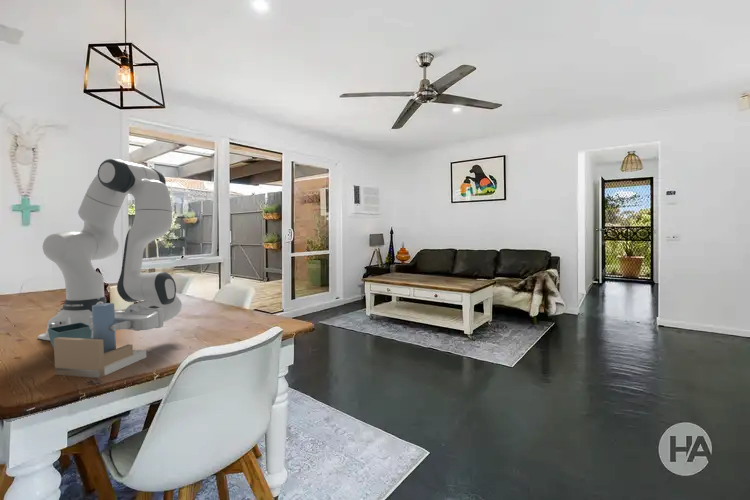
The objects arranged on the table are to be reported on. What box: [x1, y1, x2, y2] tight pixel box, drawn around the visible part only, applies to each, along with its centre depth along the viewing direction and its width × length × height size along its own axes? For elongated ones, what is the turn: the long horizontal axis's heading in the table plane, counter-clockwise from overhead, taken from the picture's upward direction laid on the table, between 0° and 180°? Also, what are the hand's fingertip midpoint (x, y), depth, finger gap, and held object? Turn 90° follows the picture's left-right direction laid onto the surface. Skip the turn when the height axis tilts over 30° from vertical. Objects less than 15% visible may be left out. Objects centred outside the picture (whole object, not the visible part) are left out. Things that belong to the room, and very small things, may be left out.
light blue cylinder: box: [92, 302, 117, 353], centre depth 105 cm, size 5×5×14 cm
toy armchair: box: [53, 337, 147, 379], centre depth 105 cm, size 14×16×10 cm
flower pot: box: [48, 322, 92, 349], centre depth 114 cm, size 9×9×9 cm
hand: (101, 327), depth 104 cm, fingers closed on light blue cylinder, 5 cm apart
